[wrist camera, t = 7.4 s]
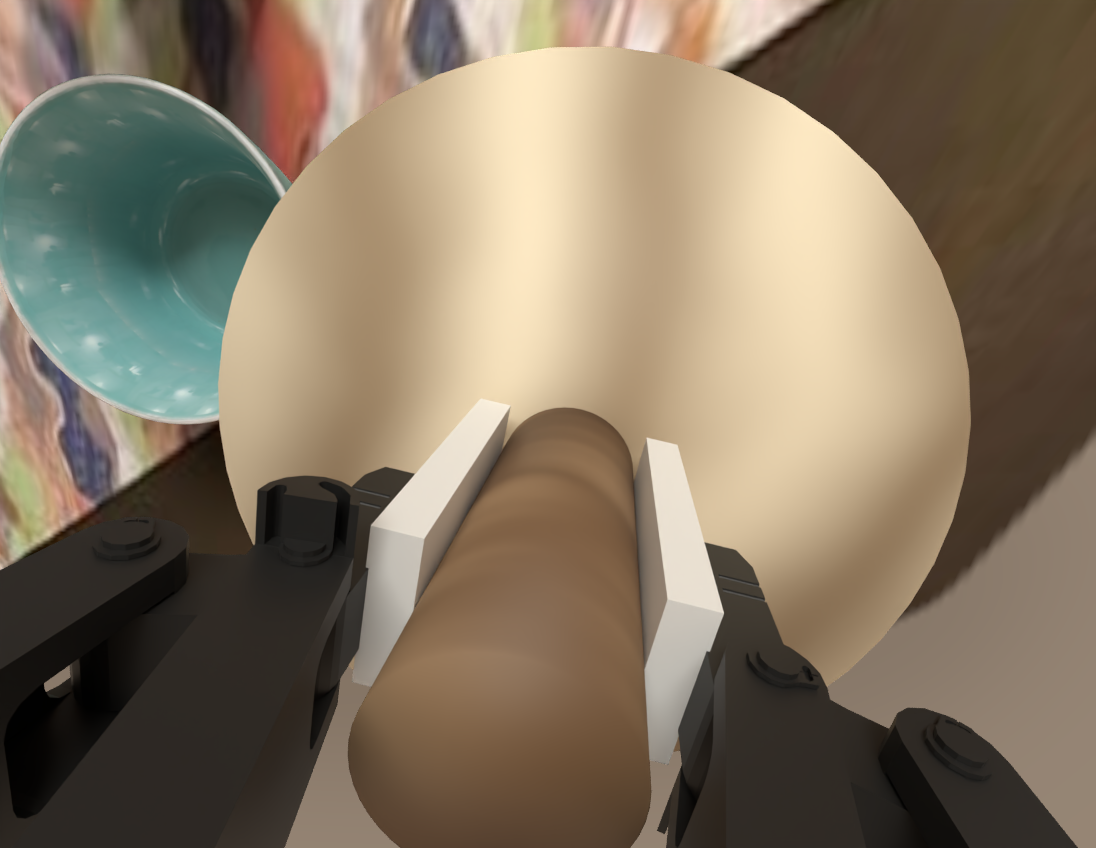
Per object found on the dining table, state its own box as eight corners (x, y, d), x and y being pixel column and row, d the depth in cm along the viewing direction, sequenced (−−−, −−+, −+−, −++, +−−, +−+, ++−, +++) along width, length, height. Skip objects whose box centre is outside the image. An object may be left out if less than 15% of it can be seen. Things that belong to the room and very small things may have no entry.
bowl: (430, 245, 33) (372, 247, 25) (289, 434, 38) (203, 486, 30) (205, 45, 31) (67, -18, 23) (86, 271, 36) (-61, 281, 28)
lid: (232, 640, 20) (-146, 1033, 10) (264, -18, 13) (-656, -679, 4) (788, 791, 19) (967, 1379, 9) (1094, 164, 13) (2666, -77, 3)
